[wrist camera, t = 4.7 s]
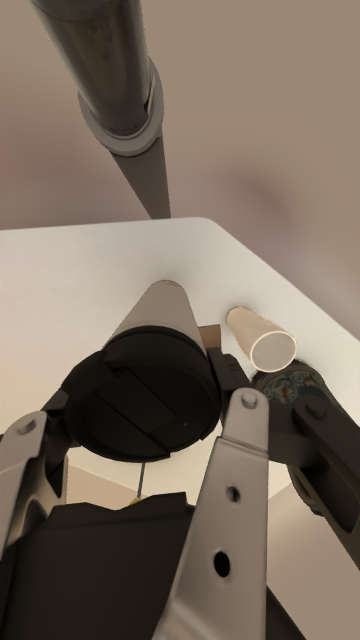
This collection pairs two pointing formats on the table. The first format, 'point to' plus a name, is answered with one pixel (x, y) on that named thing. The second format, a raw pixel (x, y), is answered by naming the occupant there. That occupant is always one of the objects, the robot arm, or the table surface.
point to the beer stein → (285, 390)
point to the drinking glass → (261, 340)
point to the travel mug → (145, 384)
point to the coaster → (210, 336)
